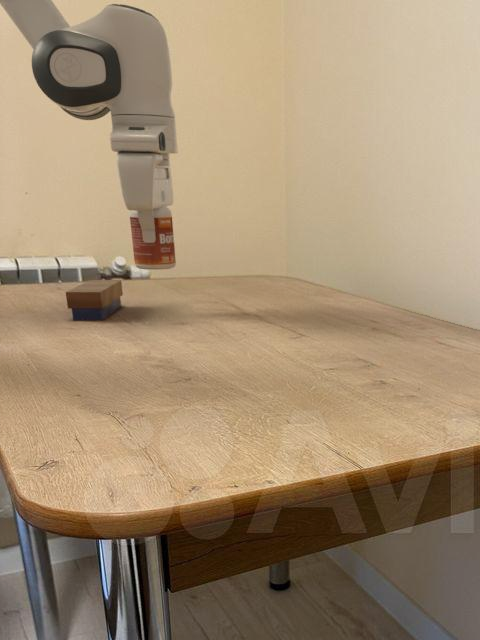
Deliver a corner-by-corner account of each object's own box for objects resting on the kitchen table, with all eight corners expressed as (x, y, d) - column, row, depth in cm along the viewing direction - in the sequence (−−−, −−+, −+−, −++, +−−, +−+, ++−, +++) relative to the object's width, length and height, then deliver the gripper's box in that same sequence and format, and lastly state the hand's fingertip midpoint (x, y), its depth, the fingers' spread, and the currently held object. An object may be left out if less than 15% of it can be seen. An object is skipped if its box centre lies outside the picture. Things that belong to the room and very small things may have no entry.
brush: (103, 321, 105) (100, 292, 104) (69, 320, 105) (65, 292, 103) (124, 306, 117) (121, 280, 116) (93, 306, 117) (89, 279, 115)
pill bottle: (168, 270, 106) (161, 191, 102) (128, 269, 107) (120, 190, 102) (181, 265, 112) (175, 190, 108) (143, 264, 113) (136, 189, 108)
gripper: (137, 142, 112) (146, 234, 117) (106, 135, 93) (118, 246, 98) (178, 143, 112) (185, 234, 118) (155, 137, 93) (164, 246, 99)
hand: (154, 240), depth 108 cm, fingers closed on pill bottle, 6 cm apart
